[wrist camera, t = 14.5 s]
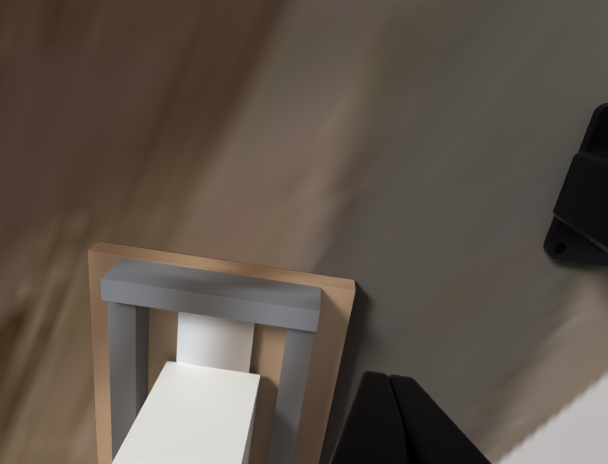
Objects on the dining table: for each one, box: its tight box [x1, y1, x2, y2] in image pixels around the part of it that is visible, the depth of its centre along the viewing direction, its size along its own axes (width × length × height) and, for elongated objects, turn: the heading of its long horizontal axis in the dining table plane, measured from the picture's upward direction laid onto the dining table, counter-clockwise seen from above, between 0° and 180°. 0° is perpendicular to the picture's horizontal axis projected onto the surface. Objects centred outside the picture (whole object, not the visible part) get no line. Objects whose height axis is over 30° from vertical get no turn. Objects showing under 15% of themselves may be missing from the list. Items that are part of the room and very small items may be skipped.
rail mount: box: [88, 242, 356, 464], centre depth 22 cm, size 12×18×3 cm, turn 172°
